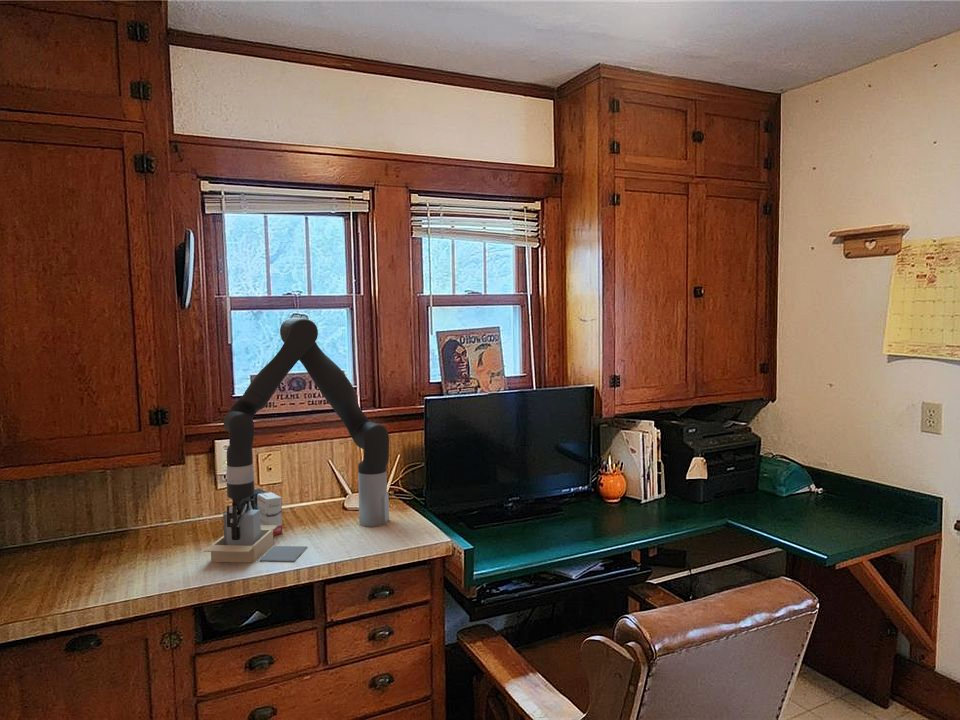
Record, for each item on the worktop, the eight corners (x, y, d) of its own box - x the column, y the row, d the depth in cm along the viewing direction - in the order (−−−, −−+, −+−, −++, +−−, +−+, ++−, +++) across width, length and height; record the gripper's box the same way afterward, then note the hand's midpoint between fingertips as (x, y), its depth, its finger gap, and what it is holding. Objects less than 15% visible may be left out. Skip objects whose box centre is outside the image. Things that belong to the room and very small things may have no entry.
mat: (307, 547, 195) (307, 546, 195) (294, 562, 184) (294, 560, 184) (274, 547, 196) (274, 545, 196) (259, 561, 185) (259, 560, 185)
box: (261, 549, 194) (260, 509, 193) (254, 555, 189) (253, 515, 188) (232, 549, 195) (230, 509, 194) (224, 555, 190) (223, 514, 189)
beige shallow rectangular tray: (278, 539, 202) (277, 525, 202) (249, 567, 181) (248, 551, 180) (238, 539, 203) (237, 524, 203) (204, 566, 181) (203, 550, 181)
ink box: (283, 533, 208) (281, 496, 207) (267, 536, 205) (266, 499, 204) (272, 526, 214) (271, 490, 214) (257, 529, 211) (256, 493, 210)
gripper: (242, 486, 183) (244, 543, 184) (262, 473, 197) (264, 526, 198) (216, 486, 183) (218, 543, 184) (238, 473, 197) (240, 526, 199)
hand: (242, 534), depth 191 cm, fingers open, 8 cm apart
